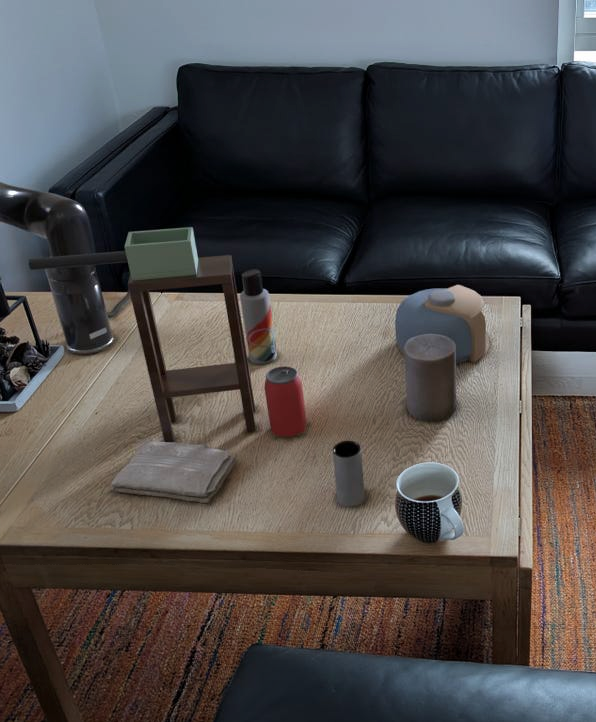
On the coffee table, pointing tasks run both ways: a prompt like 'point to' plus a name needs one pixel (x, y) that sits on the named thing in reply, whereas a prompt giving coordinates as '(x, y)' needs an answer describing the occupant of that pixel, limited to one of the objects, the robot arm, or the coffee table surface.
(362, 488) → the grey black cylinder
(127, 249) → the green box scoop
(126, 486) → the washcloth
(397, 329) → the alarm clock
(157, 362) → the stand
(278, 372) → the beer can
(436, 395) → the pillar candle
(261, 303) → the lotion bottle
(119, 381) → the coffee table surface
